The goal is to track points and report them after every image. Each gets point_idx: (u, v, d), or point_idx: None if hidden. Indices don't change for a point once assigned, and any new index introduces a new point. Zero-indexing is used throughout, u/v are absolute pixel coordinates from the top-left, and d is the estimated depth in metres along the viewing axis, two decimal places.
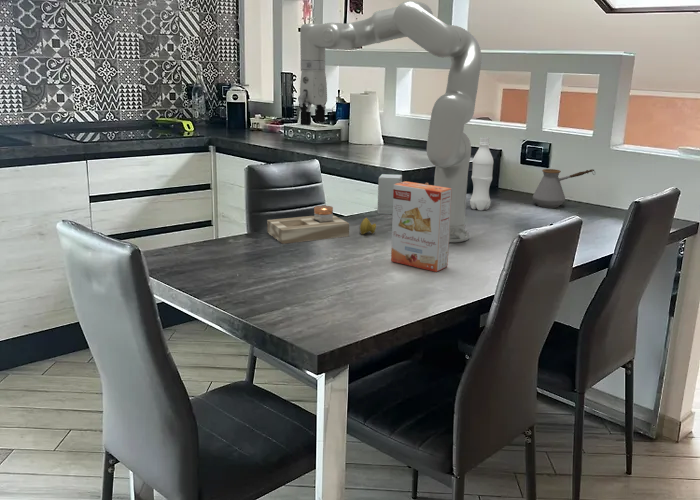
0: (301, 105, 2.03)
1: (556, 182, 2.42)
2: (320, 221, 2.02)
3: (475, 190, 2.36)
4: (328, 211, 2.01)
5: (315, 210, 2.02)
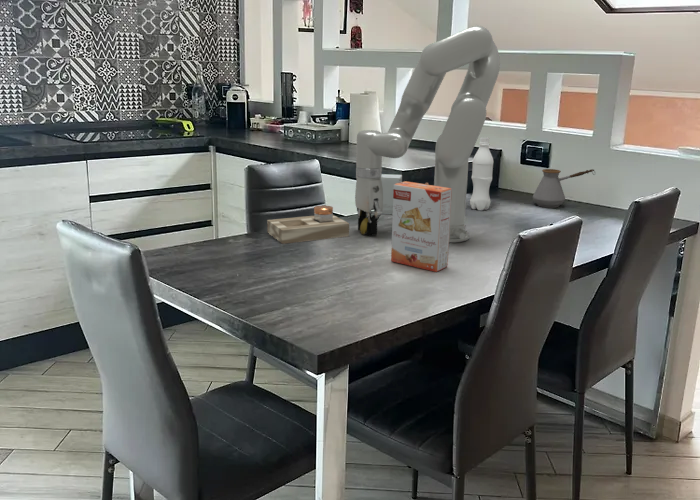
0: (376, 217, 1.99)
1: (556, 182, 2.42)
2: (320, 221, 2.02)
3: (475, 190, 2.36)
4: (328, 211, 2.01)
5: (315, 210, 2.02)
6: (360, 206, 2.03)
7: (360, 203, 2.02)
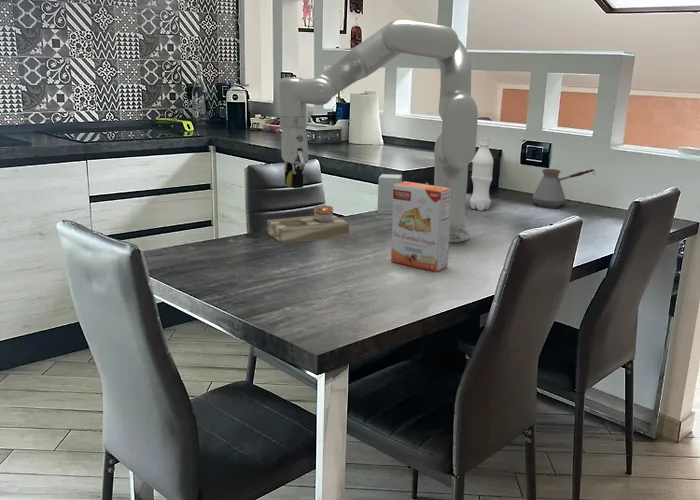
0: (301, 168, 1.91)
1: (556, 182, 2.42)
2: (320, 221, 2.02)
3: (475, 190, 2.36)
4: (328, 211, 2.01)
5: (315, 210, 2.02)
6: (285, 157, 1.95)
7: (285, 154, 1.94)
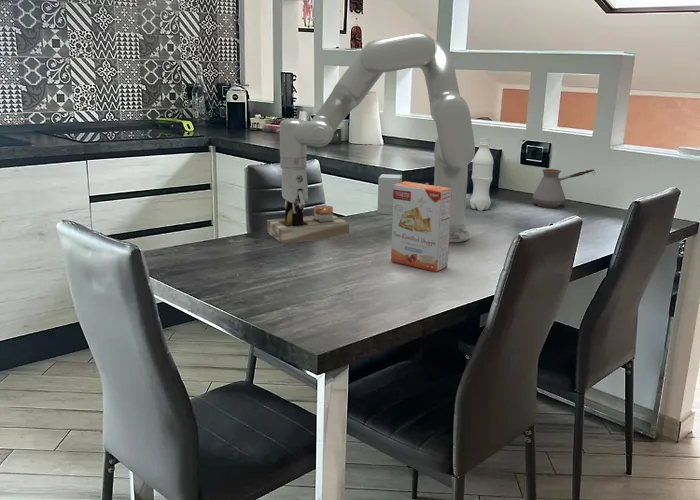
0: (301, 208, 1.94)
1: (556, 182, 2.42)
2: (320, 221, 2.02)
3: (475, 190, 2.36)
4: (328, 211, 2.01)
5: (315, 210, 2.02)
6: (286, 197, 1.98)
7: (285, 194, 1.98)
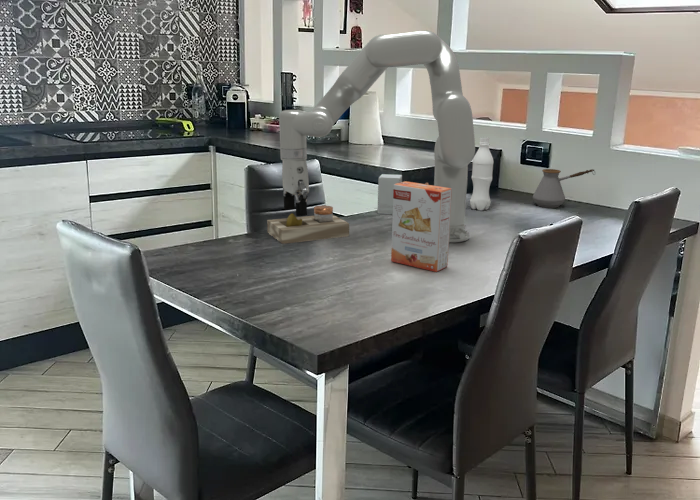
0: (304, 197, 1.91)
1: (556, 182, 2.42)
2: (320, 221, 2.02)
3: (475, 190, 2.36)
4: (328, 211, 2.01)
5: (315, 210, 2.02)
6: (286, 188, 1.97)
7: (286, 185, 1.97)
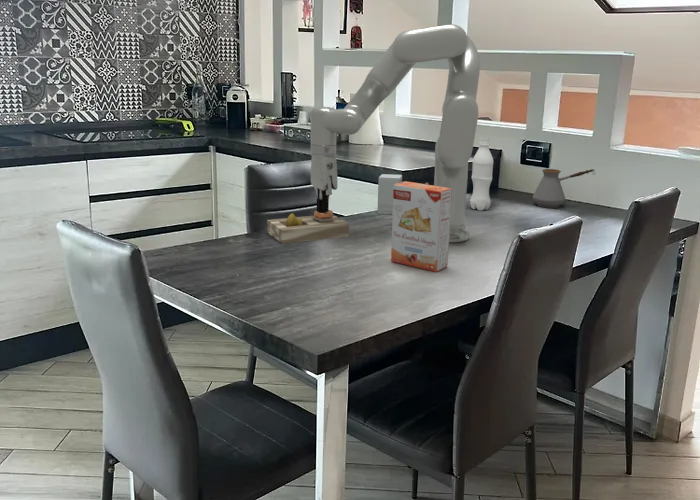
0: None
1: (556, 182, 2.42)
2: None
3: (475, 190, 2.36)
4: (328, 215, 2.02)
5: (315, 214, 2.02)
6: (315, 184, 2.01)
7: (315, 181, 2.01)
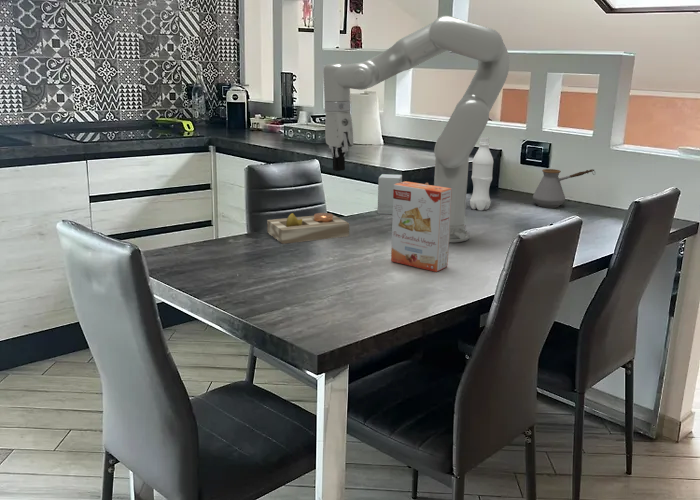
0: None
1: (556, 182, 2.42)
2: None
3: (475, 190, 2.36)
4: (328, 219, 2.02)
5: (315, 217, 2.03)
6: (330, 142, 2.00)
7: (330, 139, 2.00)
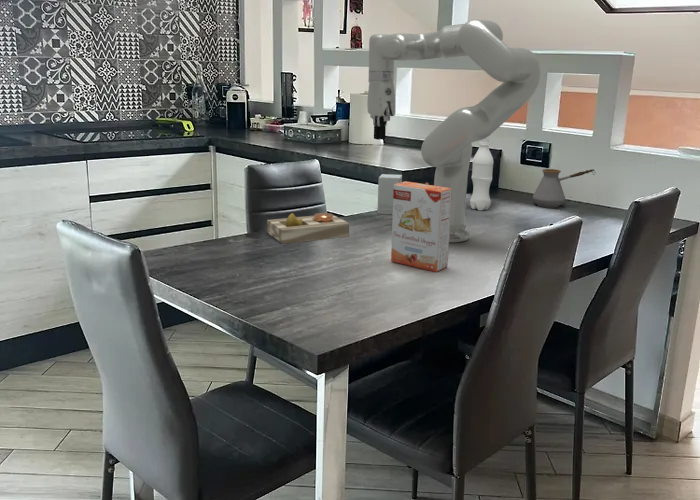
0: None
1: (556, 182, 2.42)
2: None
3: (475, 190, 2.36)
4: (328, 219, 2.02)
5: (315, 217, 2.03)
6: (372, 111, 2.06)
7: (372, 108, 2.06)
